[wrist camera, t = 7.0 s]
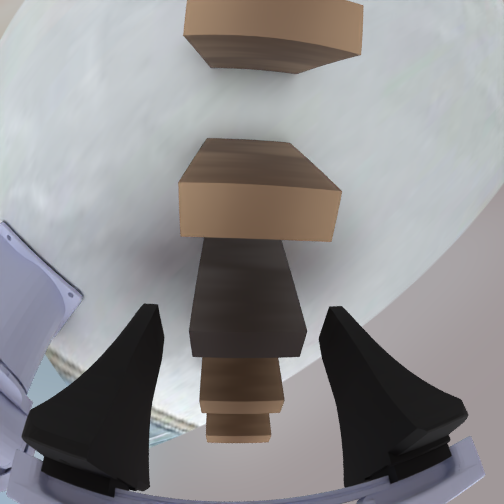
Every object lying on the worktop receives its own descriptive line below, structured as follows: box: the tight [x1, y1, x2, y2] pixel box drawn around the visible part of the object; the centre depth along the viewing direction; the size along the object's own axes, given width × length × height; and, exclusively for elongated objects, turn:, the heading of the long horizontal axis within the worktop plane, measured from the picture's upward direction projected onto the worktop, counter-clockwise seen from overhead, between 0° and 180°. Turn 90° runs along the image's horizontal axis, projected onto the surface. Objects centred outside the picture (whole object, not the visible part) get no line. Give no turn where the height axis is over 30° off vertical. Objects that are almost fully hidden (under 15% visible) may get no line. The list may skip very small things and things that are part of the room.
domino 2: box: [178, 138, 342, 242], centre depth 11 cm, size 4×2×8 cm, turn 86°
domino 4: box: [206, 413, 271, 443], centre depth 20 cm, size 4×2×8 cm, turn 86°
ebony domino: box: [189, 237, 307, 358], centre depth 14 cm, size 4×2×8 cm, turn 86°
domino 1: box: [183, 0, 363, 74], centre depth 8 cm, size 4×2×8 cm, turn 86°
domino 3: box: [199, 357, 284, 414], centre depth 17 cm, size 4×2×8 cm, turn 86°
